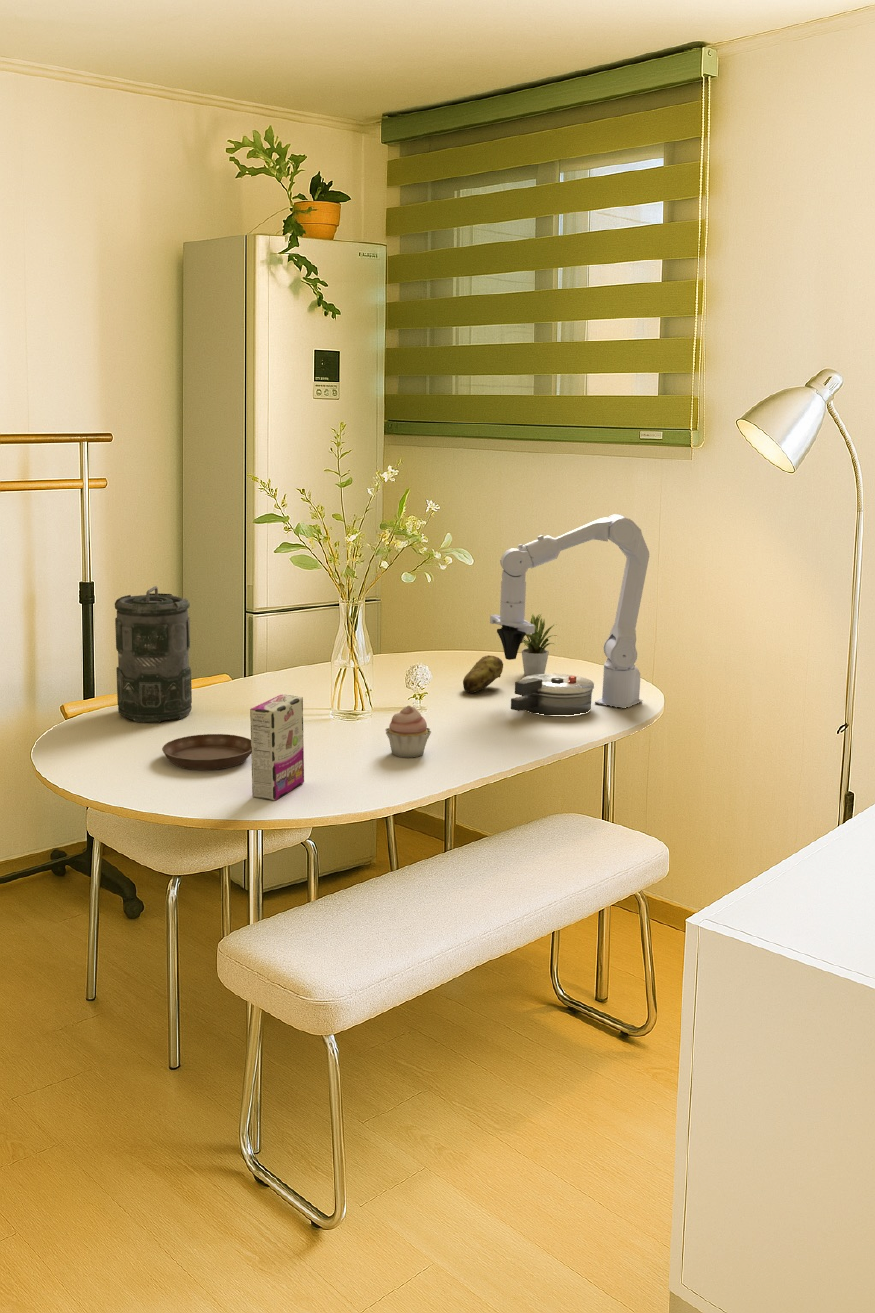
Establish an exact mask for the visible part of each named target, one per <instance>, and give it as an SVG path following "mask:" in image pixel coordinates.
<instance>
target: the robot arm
mask: <svg viewBox="0 0 875 1313" xmlns="http://www.w3.org/2000/svg"><path fill="white" fill-rule="evenodd" d="M536 538H537V539H534V540H532V541H530V542H528V543H525V544H523V543H520V544H517V547H518V548H509V549H507V550H505V551H504V553H502V555H501V558H500V560H499V563H500V566H501V568H502V571H501V581H500V605H499V606H500V609H499V612H500V613H499V614H492V615H489V616H490V617H489V623H490V624H491V625H494V624H495V625H498V626H501V627H500V628H497V629H496V633H497V634H498V635H497V636H499V638H500V641H501V644H502V649H503V652H504V658H505V659H506V660H508V661H510V660H516V659H517V656H518V653H519V649H520V646H521V644H522V643H521V642H522V640H523V638H525V637H526V636H525V635H526V634H532V633H535V625H533V624H531V623H530V622H529V621H528V620H525V619H526V618H525V616H526V595H527V594H526V591H527V590H526V589H527V582H526V574H527V573H528V572H527V571H528V569H534V568H537V567H539V566H541V565H544V564H546V563H549V562H551V561H553V560H556V559H558V556H559V555H560V553H561V552H562V551H565V550H567V549H570V548H573V547H576V546H578V545H581V544H584V543H587V542H590V541H595V540H596V541H601V542H609V541H611V543H613V544H615V545H616V546H617V547H618V548H619V549H620V551H621V552H622V553H623V555H624V556H625V557H626V560H625V565H624V570H623V576H622V582H621V587H620V593H619V598H618V602H617V603H618V604H617V606H616V607H617V608H616V614H615V618H614V623H613V625H612V627H611V629H610V634H609V636H608V638H607V639H606V640H605V642H604V643H603V654H604V655H605V656H606V660H605V662H604V663H603V677H602V678H603V679H602V693H601V694H602V696H601V698H600V699H597V700H595V701H594V704H596V703H600V704H599V705H601V704H606V705H605V706H607V705H610V706H609V707H612V706H615V707H614V708H617V707H622V708H625V707H628V708H630V707H632V705H633V706H635V705H638V704H640V703H642V702H644V699H641V698H640V692H641V691H640V690H641V678H642V677H641V672H640V670H639V668H638V667H637V666H636V664H635V663H636V661H637V660H638V651H637V647H636V643H637V633H636V632H637V631H636V629H637V628H636V627H637V622H638V617H639V612H640V607H641V602H642V597H643V590H644V585H645V582H646V581H645V580H646V575H647V571H648V565H649V560H650V550H649V548H648V546H647V543H646V540H645V538H644V536H643V533H642V529H641V528H640V527H639V526H638V525H637V524H636V522H634V521H633V520H632V519H631V518H628V517H626V516H624V515H622V514H620V513H619V514H618V513H615V514H611V515H609V516H608V517H601V518H598V519H596V520H593V521H591V522H588V523H586V524H584V525H581V526H579V527H576V528H575V529H573V530H570V531H567V532H566V533H564V534H562V535H559V536H556V537H553V536H551V535H543V534H541V535H538V536H537V537H536ZM639 702H640V703H639ZM637 703H638V704H637ZM622 708H621V709H622Z"/></svg>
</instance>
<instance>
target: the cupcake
mask: <svg viewBox="0 0 875 1313" xmlns="http://www.w3.org/2000/svg"><path fill="white" fill-rule="evenodd" d="M388 725H389V727H387V728H385V734H386V736H387V738H388V741H389V745H390V752H391V753H392V754H393V756H396V757H400V758H405V759H408V758H418V757H420V756H422V755H423V754H424V753H425V749H426V745H427V742H428V739H429V737H430V735H431V733H432V731H431V728H430V727H428V725H427V722H426V719H425V718H424V717H423V716H422V714H421V712H419V710H418V709H416V707H414V706H411V705H407V706H404V708H403V709H401V710H400V712H397V713H394V714H393V715H392V717H391V721H390V723H389V724H388Z"/></svg>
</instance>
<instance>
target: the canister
mask: <svg viewBox="0 0 875 1313" xmlns="http://www.w3.org/2000/svg"><path fill="white" fill-rule="evenodd" d="M158 589H159V588H158V586H157V585H156V586H152V587H151V588H150V589H148V590H147V591H146V592H145V593H146V594H142V595H141V594H140V595H132V596H131V594H129V595H124V596H121V597H118V599H116V600H115V602H114V608H115V610H116V617H115V620H114V622H115V623H114V624H115V625H114V626H115V649H116V651H117V660H118V661H117V662H118V664H117V666H116V668H115V669H116V670H115V671H116V694H117V695H116V696H117V698H116V699H117V711H118V712H117V713H119V715H122V716H124V717H125V718H127V719H130V720H133V721H134V722H135V723H145V724H147V723H148V724H150V723H151V724H155V723H156V724H157V723H161V721H163V722H164V721H169V720H175V719H176V720H181V719H183V718H185V717H187V716H189V715H190V713H191V712H192V707H193V706H192V703H193V702H192V701H193V699H192V698H193V697H192V693H193V691H192V668H191V667H190V651H189V650H190V649H191V632H190V631H191V628H190V626H191V625H190V624H191V623H190V622H191V621H190V619H191V618H190V617H189V608H190V602H189V600H188V599H187V598H183V597H180V596H176V595H173V594H171V593H159V590H158ZM153 591H154V592H153ZM152 592H153V593H152Z"/></svg>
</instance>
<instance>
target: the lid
mask: <svg viewBox="0 0 875 1313" xmlns="http://www.w3.org/2000/svg"><path fill="white" fill-rule="evenodd" d="M594 689H595V682H594V681H592V680H591V679H588V678H587V677H582V676H579V675H573V674H566V673H565V674H564V673H545V674H536V675H530V676H526V675H525V676H524V677H522V678H521V679H520V680H519V681H515V682H514V694H515V695H518V696H524V695H528V694H532V693H536V692H540V693H547V694H580V693H585V692H589V691H591V690H593V691H594Z"/></svg>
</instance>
